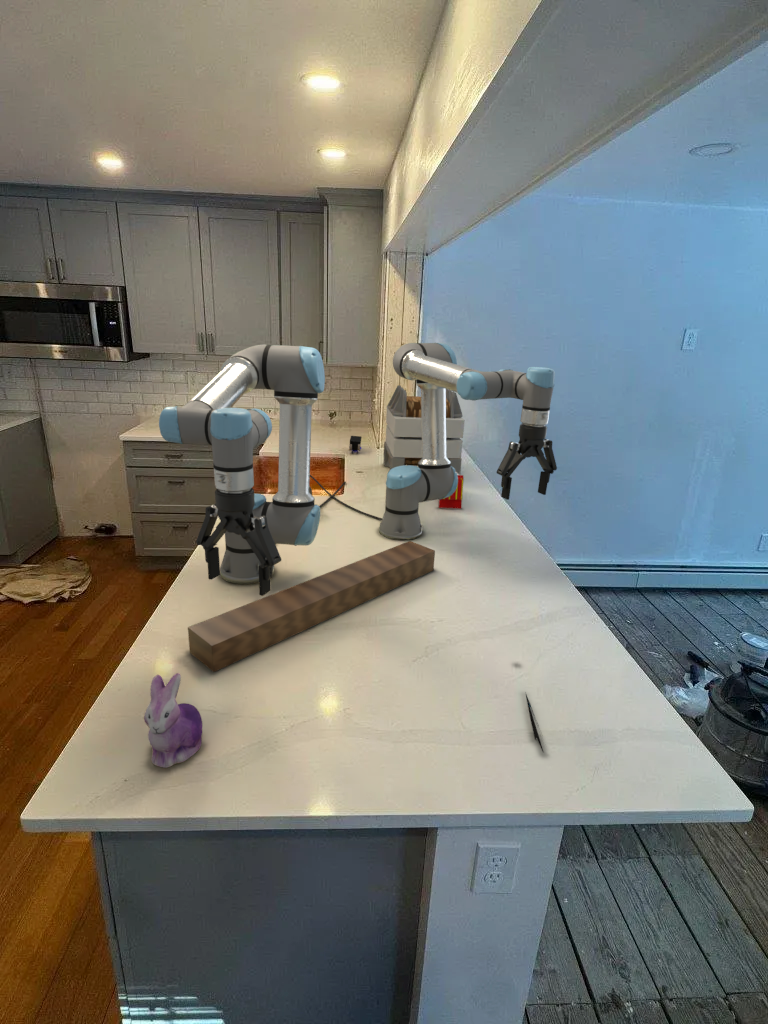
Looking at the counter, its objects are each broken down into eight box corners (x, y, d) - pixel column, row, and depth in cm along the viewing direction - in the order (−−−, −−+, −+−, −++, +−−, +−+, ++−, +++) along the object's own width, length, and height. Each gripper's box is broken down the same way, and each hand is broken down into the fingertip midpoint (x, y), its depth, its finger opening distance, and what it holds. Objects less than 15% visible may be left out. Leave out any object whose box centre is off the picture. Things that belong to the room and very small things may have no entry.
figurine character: (361, 457, 304) (361, 447, 317) (361, 444, 301) (362, 434, 314) (348, 456, 304) (349, 447, 317) (348, 443, 300) (349, 434, 314)
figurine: (152, 779, 93) (143, 704, 88) (145, 738, 102) (136, 668, 97) (210, 760, 98) (205, 688, 92) (199, 723, 106) (193, 655, 101)
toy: (456, 466, 252) (467, 476, 223) (454, 496, 255) (465, 509, 225) (428, 465, 252) (437, 475, 222) (427, 495, 254) (435, 508, 225)
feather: (517, 669, 129) (522, 662, 128) (543, 757, 102) (550, 750, 102) (511, 665, 129) (516, 659, 128) (535, 752, 102) (542, 745, 101)
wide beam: (408, 559, 180) (410, 540, 177) (433, 570, 173) (435, 550, 171) (189, 652, 127) (187, 627, 125) (213, 672, 121) (211, 645, 119)
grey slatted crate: (382, 463, 289) (386, 382, 275) (445, 464, 293) (451, 384, 279) (390, 482, 257) (394, 392, 243) (460, 483, 261) (468, 394, 247)
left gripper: (173, 482, 114) (181, 577, 121) (273, 505, 103) (276, 607, 111) (200, 473, 120) (206, 564, 127) (297, 494, 110) (298, 592, 117)
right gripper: (506, 429, 151) (497, 504, 158) (576, 424, 161) (564, 495, 169) (489, 423, 157) (481, 496, 164) (558, 419, 168) (547, 487, 175)
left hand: (239, 584), depth 119 cm, fingers open, 13 cm apart
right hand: (523, 495), depth 167 cm, fingers open, 13 cm apart
